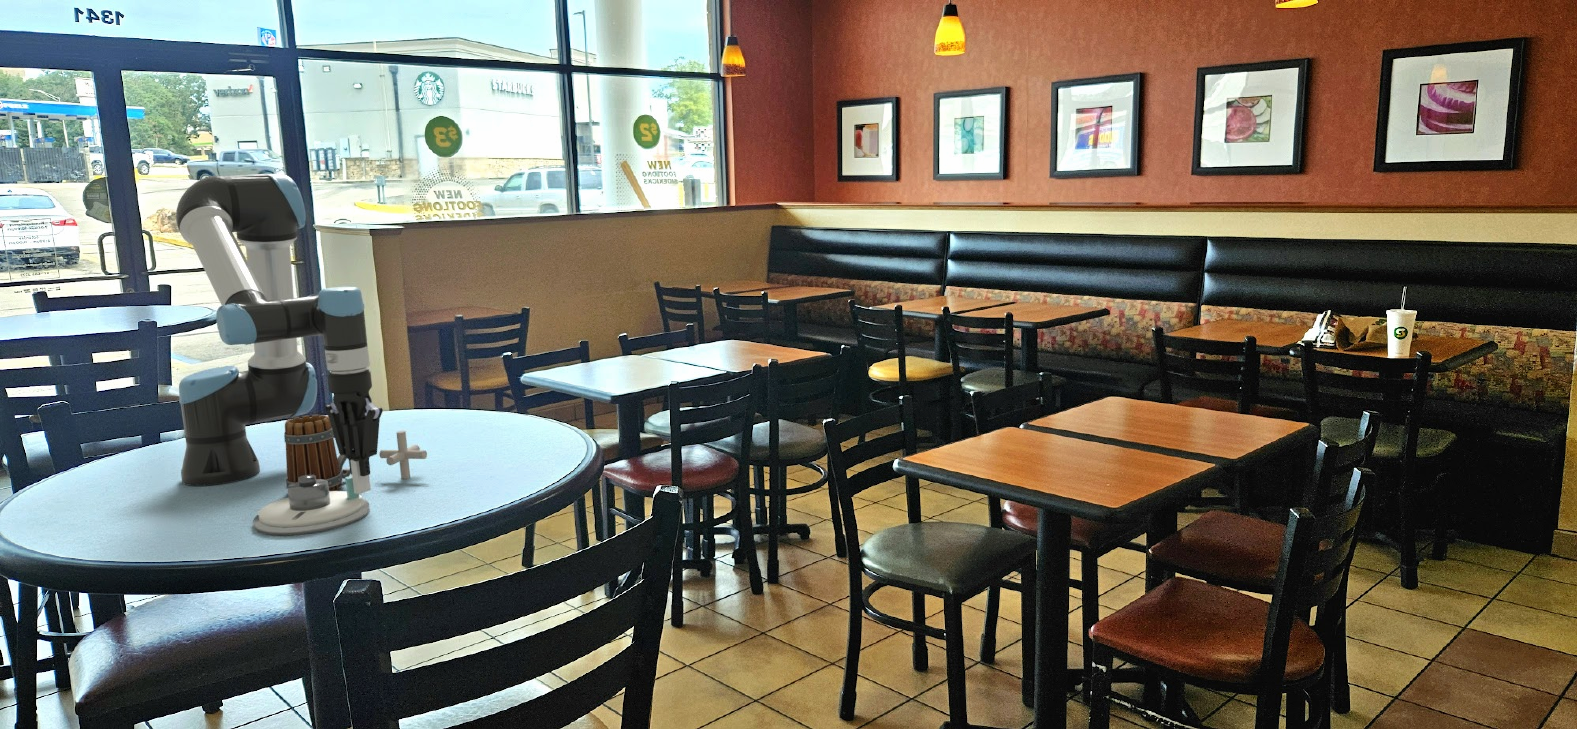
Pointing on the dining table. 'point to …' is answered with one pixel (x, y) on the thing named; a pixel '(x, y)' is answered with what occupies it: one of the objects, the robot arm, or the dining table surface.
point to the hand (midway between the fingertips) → (362, 491)
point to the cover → (308, 493)
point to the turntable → (337, 509)
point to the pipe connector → (403, 454)
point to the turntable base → (312, 528)
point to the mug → (313, 451)
